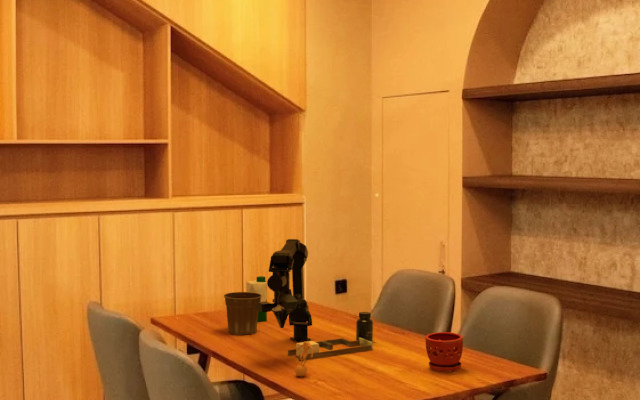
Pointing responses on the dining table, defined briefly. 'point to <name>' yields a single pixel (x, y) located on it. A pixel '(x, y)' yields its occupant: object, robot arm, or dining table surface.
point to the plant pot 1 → (242, 312)
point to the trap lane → (328, 344)
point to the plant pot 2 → (444, 351)
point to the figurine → (301, 368)
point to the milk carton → (260, 288)
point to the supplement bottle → (364, 326)
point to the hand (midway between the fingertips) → (281, 328)
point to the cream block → (313, 345)
